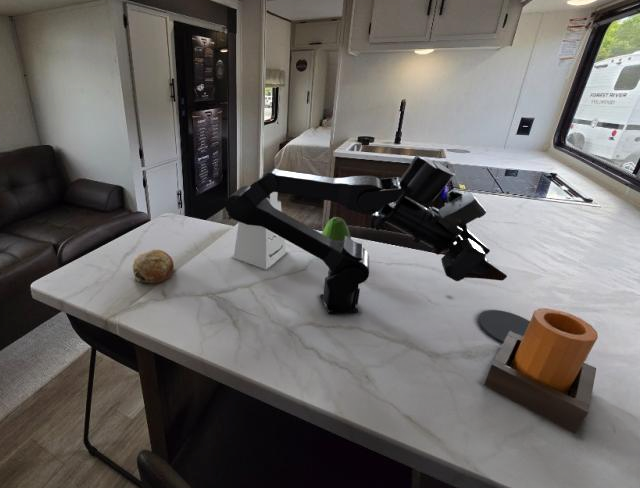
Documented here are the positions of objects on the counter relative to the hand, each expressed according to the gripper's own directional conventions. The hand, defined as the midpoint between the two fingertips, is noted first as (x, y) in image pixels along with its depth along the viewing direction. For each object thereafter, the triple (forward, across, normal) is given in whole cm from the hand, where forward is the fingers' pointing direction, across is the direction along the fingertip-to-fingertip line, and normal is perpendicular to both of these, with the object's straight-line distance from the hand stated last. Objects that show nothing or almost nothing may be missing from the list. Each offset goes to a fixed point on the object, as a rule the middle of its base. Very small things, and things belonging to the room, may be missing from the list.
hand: (496, 264), depth 60 cm
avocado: (-22, +20, +20) cm, 36 cm away
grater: (-37, +15, +34) cm, 52 cm away
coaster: (+13, +3, +11) cm, 17 cm away
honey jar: (+12, -11, +11) cm, 20 cm away
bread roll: (-58, -2, +44) cm, 73 cm away
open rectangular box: (+12, -11, +11) cm, 20 cm away
